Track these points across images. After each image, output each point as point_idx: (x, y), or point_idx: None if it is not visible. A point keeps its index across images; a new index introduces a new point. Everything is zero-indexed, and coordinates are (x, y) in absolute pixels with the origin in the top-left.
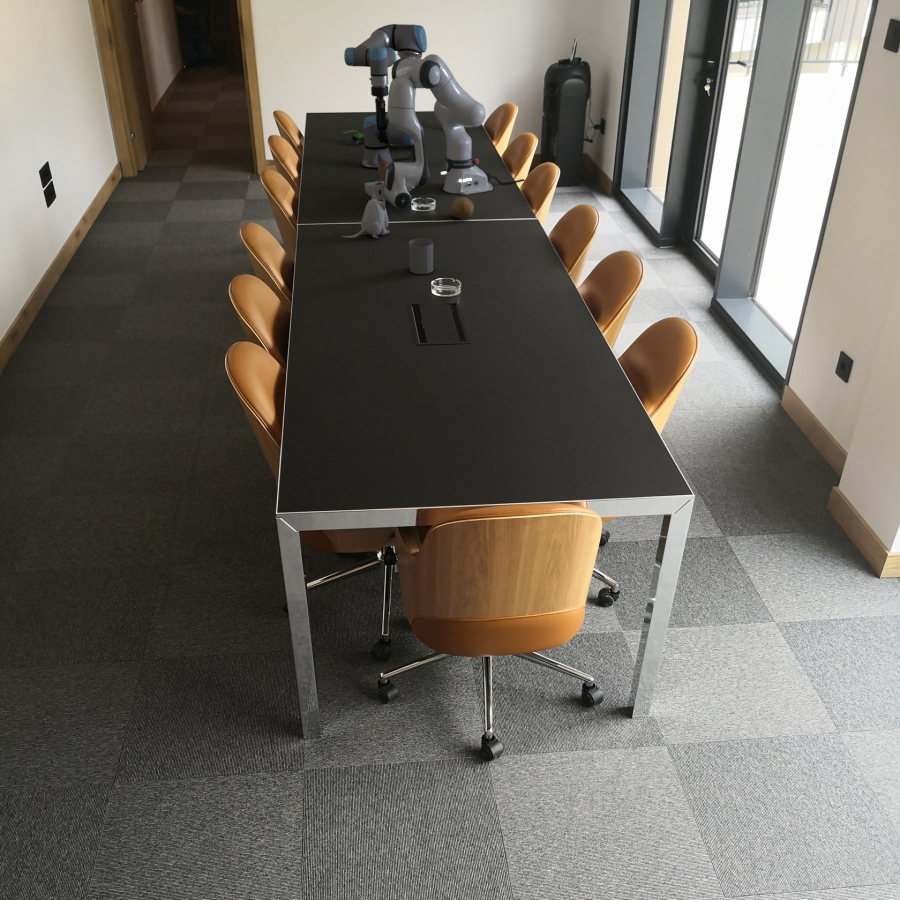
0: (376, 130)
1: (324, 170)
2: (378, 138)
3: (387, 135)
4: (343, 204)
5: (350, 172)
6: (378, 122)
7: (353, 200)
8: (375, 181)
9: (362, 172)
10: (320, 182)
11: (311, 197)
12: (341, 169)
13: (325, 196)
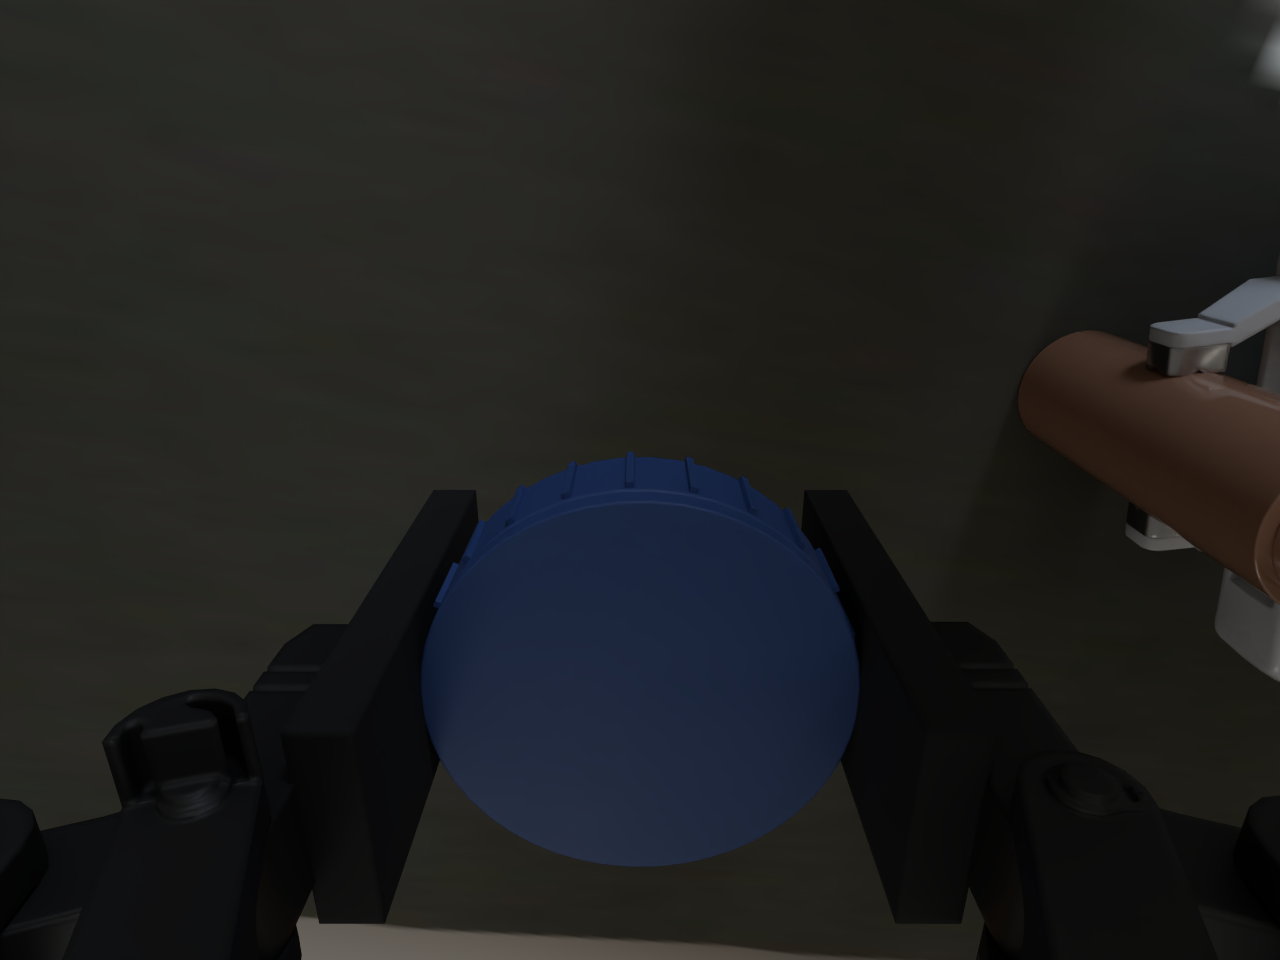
0: (508, 812)
1: (52, 796)
2: None
3: (751, 489)
4: (1140, 751)
5: (116, 599)
6: (281, 937)
7: (1064, 671)
8: (1160, 548)
9: (112, 488)
10: (449, 850)
11: (858, 928)
12: (4, 664)
13: (866, 847)
